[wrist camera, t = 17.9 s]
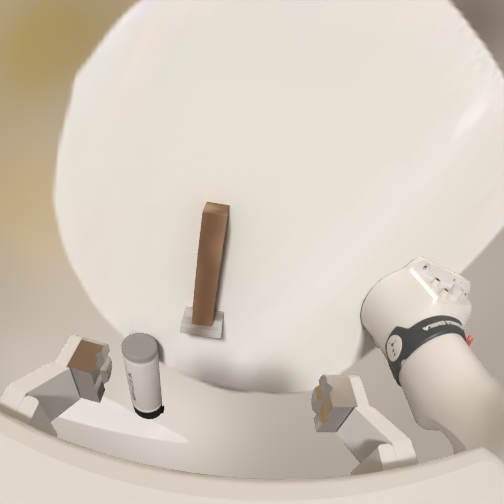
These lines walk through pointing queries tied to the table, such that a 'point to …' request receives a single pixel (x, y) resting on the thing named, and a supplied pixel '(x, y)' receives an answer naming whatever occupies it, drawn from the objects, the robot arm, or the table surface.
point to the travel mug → (143, 374)
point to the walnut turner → (207, 275)
